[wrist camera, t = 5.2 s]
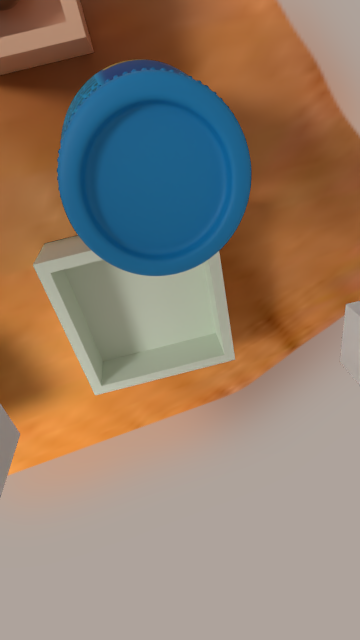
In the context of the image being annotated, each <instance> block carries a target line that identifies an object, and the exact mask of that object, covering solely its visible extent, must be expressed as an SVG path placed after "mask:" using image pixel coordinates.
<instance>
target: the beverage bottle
mask: <svg viewBox="0 0 360 640" xmlns="http://www.w3.org/2000/svg"><path fill="white" fill-rule="evenodd" d="M58 153H59V157H58V159H57V161H58V168H57V172H58V177H57V180H58V183H59V191H60V197H61V200H62V203H63V207H64V209H65V212H66V214H67V217H68V219H69V221H70V223H71V225H72V226H73V228H74V230H75V231H76V233H77V234H78V236H79V237H80V238H81V240H82V241H83V242H84V243H85V244H86V245H87V246H88V247H89V248H90V249H91V250H92V251H93V252H94V253H95V254H96V255H97V256H99V257H100V258H101V259H103V260H104V261H106V262H108V263H109V264H111V265H113V266H115V267H117V268H119V269H122V270H124V271H127V272H130V273H134V274H139V275H145V276H167V275H173V274H178V273H181V272H184V271H187V270H190V269H192V268H194V267H197V266H198V265H200V264H202V263H204V262H205V261H207V260H208V259H210V258H211V257H212V256H214V255H215V254H216V253H217V252H218V251H219V250H220V249H221V248H222V247H223V246H224V245H225V244H226V243H227V242H228V241H229V239H230V238H231V237H232V235H233V234H234V232H235V231H236V229H237V227H238V225H239V224H240V222H241V219H242V217H243V215H244V212H245V209H246V206H247V203H248V199H249V194H250V188H251V161H250V155H249V150H248V146H247V142H246V139H245V136H244V134H243V131H242V129H241V127H240V125H239V123H238V121H237V119H236V118H235V116H234V114H233V113H232V112H231V110H230V109H229V107H228V106H227V105H226V104H225V103H224V102H223V100H222V98H219V97H218V96H217V95H216V92H213V91H211V90H210V89H209V87H208V86H207V85H203V84H201V81H196V80H194V79H192V76H188V75H187V74H185V73H184V72H182V71H181V70H179V69H177V68H175V67H173V66H171V65H168V64H166V63H162V62H159V61H154V60H147V59H134V60H127V61H122V62H119V63H116V64H113V65H110V66H108V67H106V68H104V69H103V70H101V71H99V72H98V73H96V74H95V75H94V76H92V77H91V78H90V79H89V80H88V81H87V82H86V83H85V84H84V85H83V86H82V87H81V89H80V90H79V91H78V93H77V94H76V96H75V97H74V99H73V101H72V102H71V104H70V106H69V109H68V111H67V114H66V117H65V120H64V124H63V128H62V134H61V148H60V149H59V151H58Z"/></svg>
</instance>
